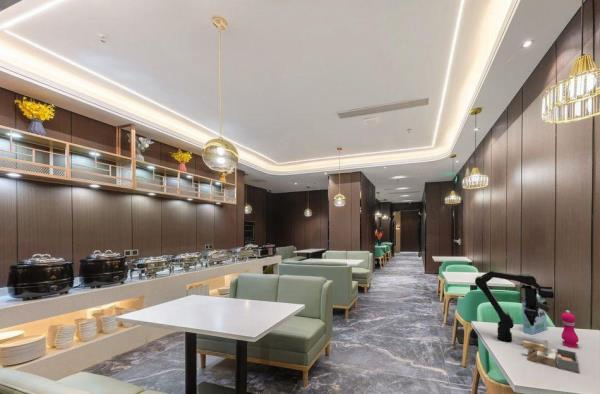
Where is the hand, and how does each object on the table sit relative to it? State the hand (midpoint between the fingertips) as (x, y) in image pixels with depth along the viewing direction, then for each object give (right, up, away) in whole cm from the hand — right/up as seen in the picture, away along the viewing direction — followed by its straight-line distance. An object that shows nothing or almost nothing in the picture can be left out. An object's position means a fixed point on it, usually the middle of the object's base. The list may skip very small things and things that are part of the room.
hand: (532, 323), depth 168 cm
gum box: (+18, -14, +20) cm, 31 cm away
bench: (-10, -11, -18) cm, 23 cm away
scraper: (-12, -7, -16) cm, 21 cm away
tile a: (-7, -7, -24) cm, 26 cm away
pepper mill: (+20, -12, -2) cm, 23 cm away
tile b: (0, -8, -22) cm, 23 cm away
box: (-2, -10, -24) cm, 26 cm away
